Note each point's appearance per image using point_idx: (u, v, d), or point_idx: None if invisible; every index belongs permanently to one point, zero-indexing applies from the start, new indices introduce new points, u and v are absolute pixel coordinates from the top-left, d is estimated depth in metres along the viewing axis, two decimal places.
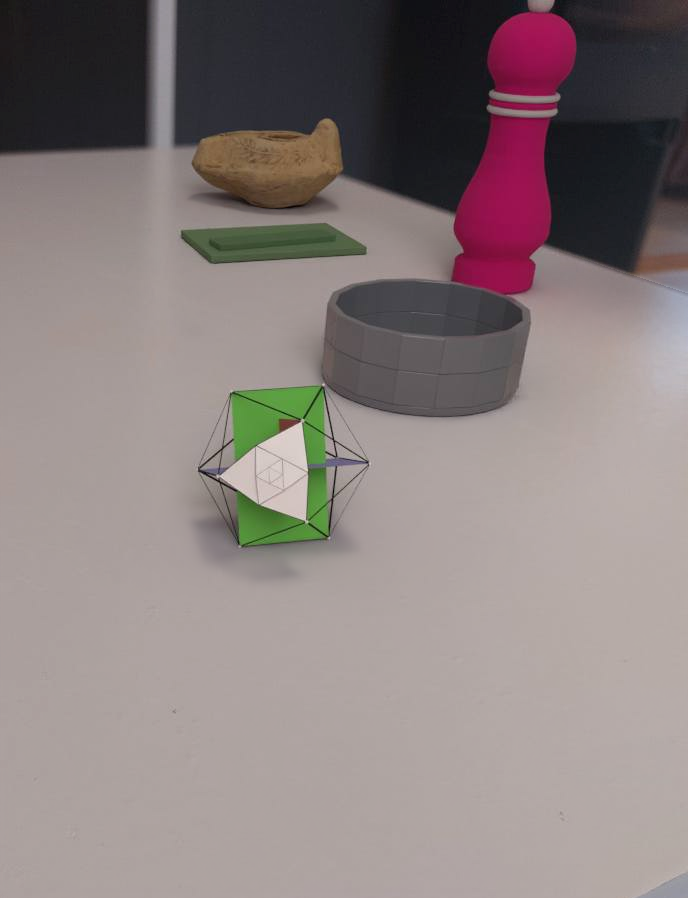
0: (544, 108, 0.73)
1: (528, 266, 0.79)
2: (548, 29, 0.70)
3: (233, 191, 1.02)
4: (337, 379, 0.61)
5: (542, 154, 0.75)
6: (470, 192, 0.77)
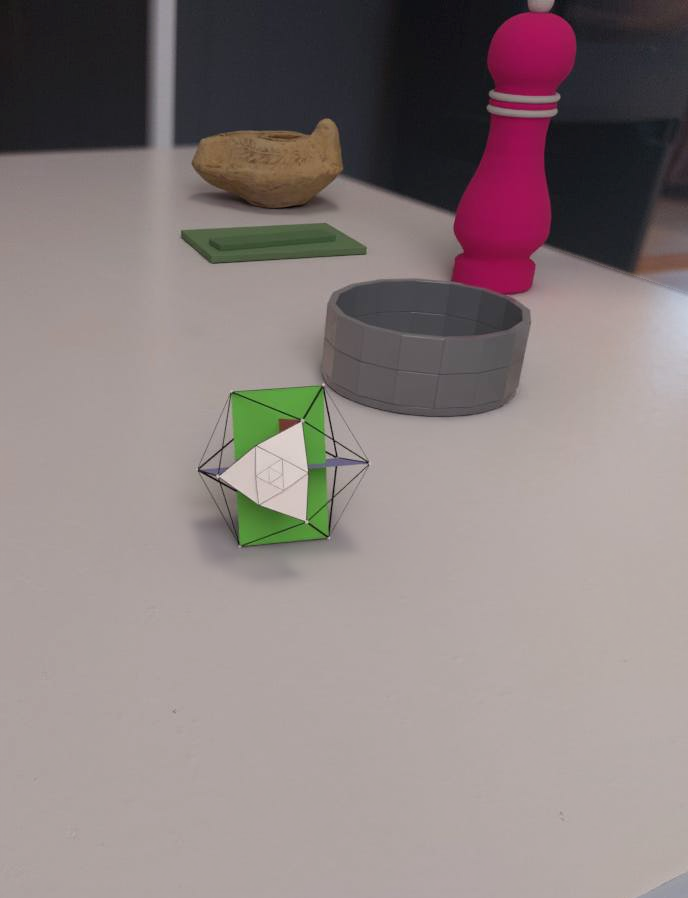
0: (544, 108, 0.73)
1: (528, 266, 0.79)
2: (548, 29, 0.70)
3: (233, 191, 1.02)
4: (337, 379, 0.61)
5: (542, 154, 0.75)
6: (470, 192, 0.77)
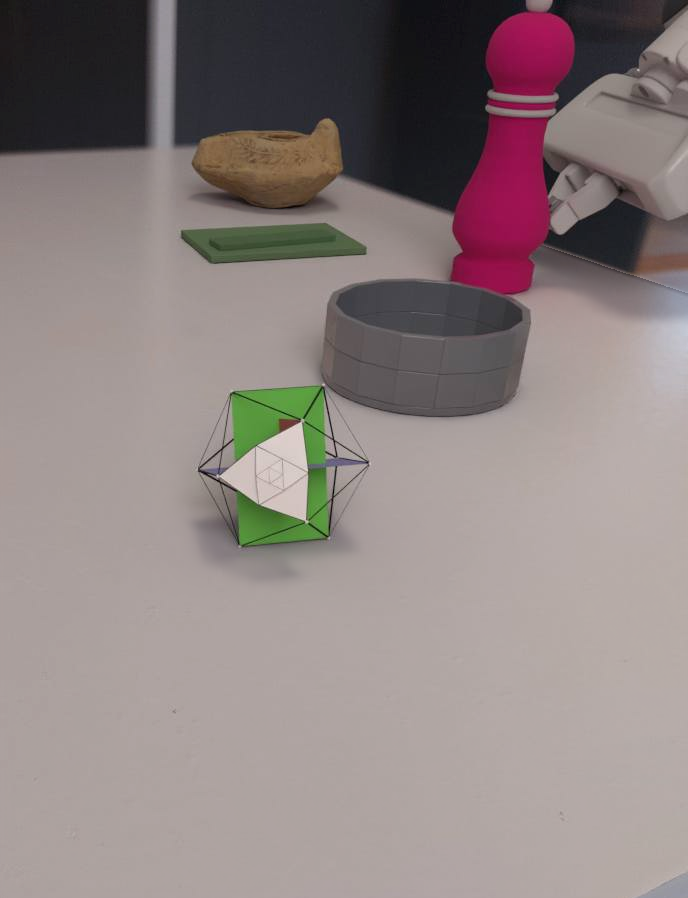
0: (543, 108, 0.73)
1: (527, 266, 0.79)
2: (547, 29, 0.70)
3: (233, 191, 1.02)
4: (337, 379, 0.61)
5: (541, 154, 0.75)
6: (468, 192, 0.77)
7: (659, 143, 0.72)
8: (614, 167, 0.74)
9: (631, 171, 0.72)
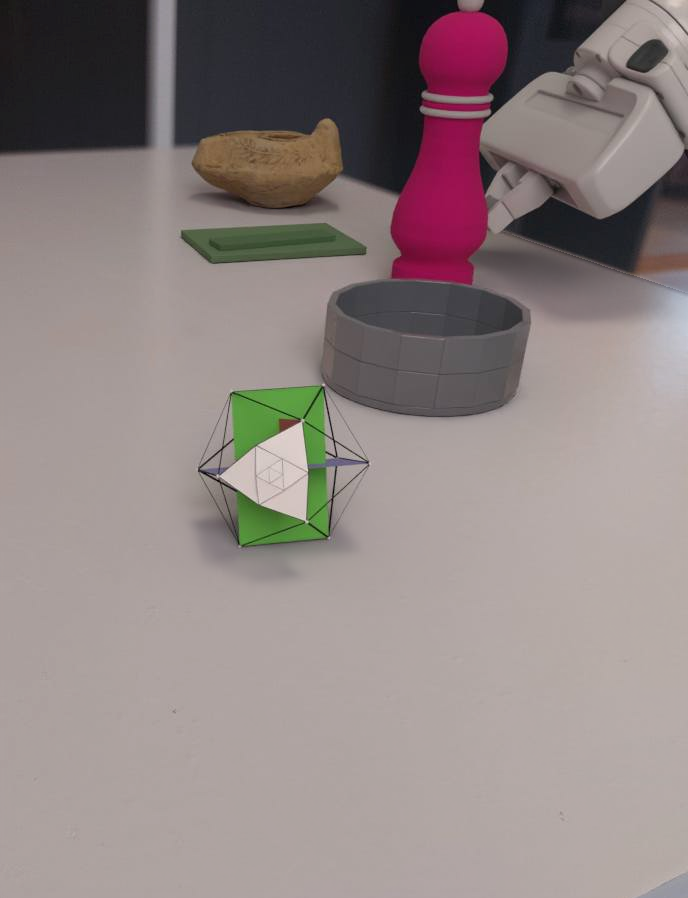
0: (479, 108, 0.72)
1: (467, 269, 0.78)
2: (481, 29, 0.69)
3: (233, 191, 1.02)
4: (337, 379, 0.61)
5: (477, 155, 0.74)
6: (407, 196, 0.76)
7: (590, 141, 0.71)
8: (547, 165, 0.73)
9: (562, 169, 0.71)
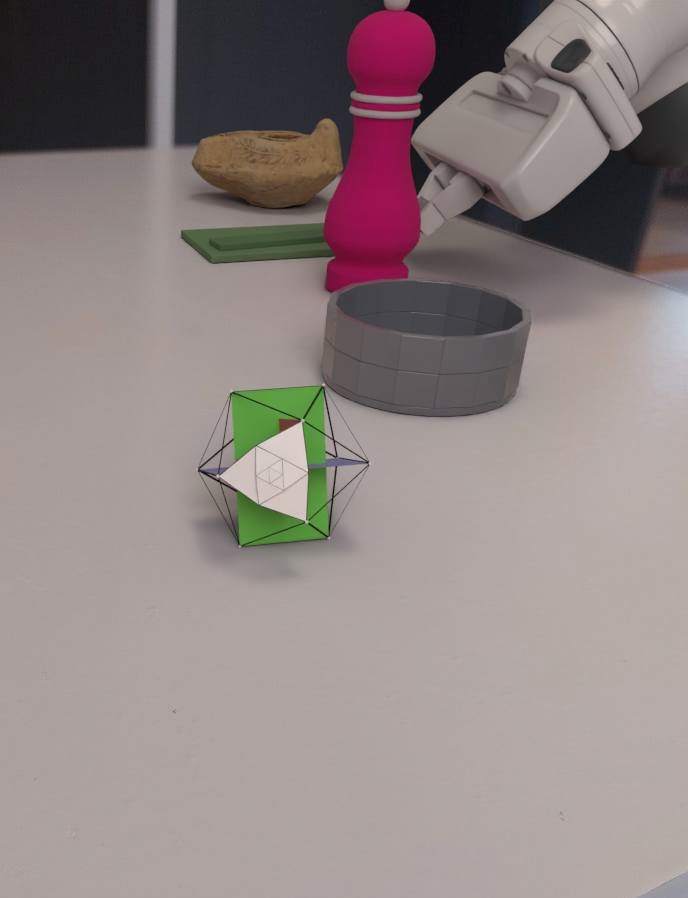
0: (410, 108, 0.71)
1: (402, 270, 0.77)
2: (409, 28, 0.68)
3: (233, 191, 1.02)
4: (337, 379, 0.61)
5: (408, 155, 0.74)
6: (339, 197, 0.75)
7: (515, 142, 0.70)
8: (474, 166, 0.72)
9: (488, 170, 0.70)
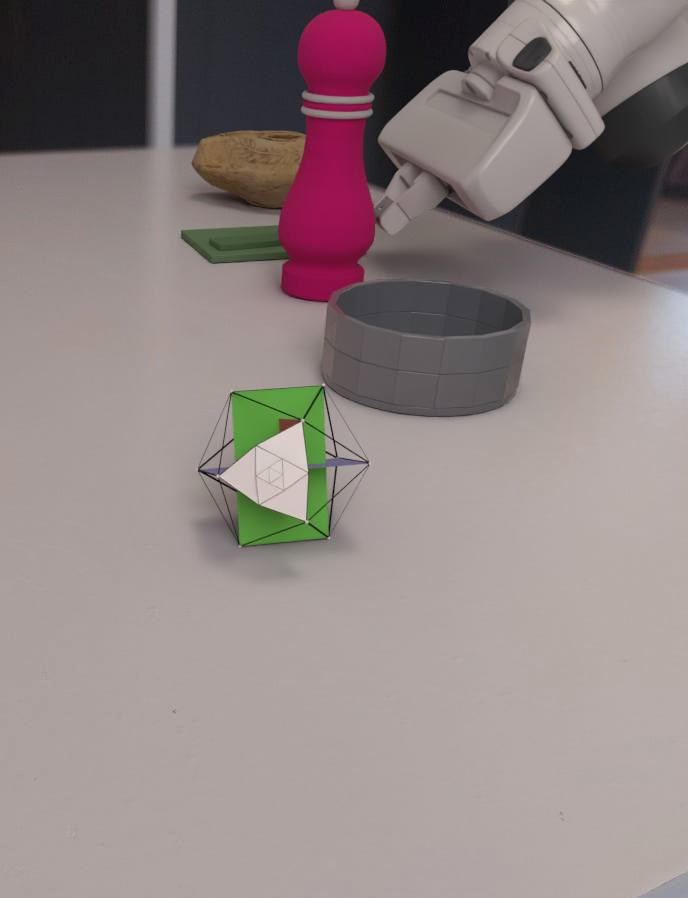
0: (361, 108, 0.70)
1: (357, 271, 0.77)
2: (358, 27, 0.67)
3: (233, 191, 1.02)
4: (337, 379, 0.61)
5: (361, 156, 0.73)
6: (292, 198, 0.74)
7: (477, 141, 0.69)
8: (437, 166, 0.72)
9: (450, 170, 0.70)
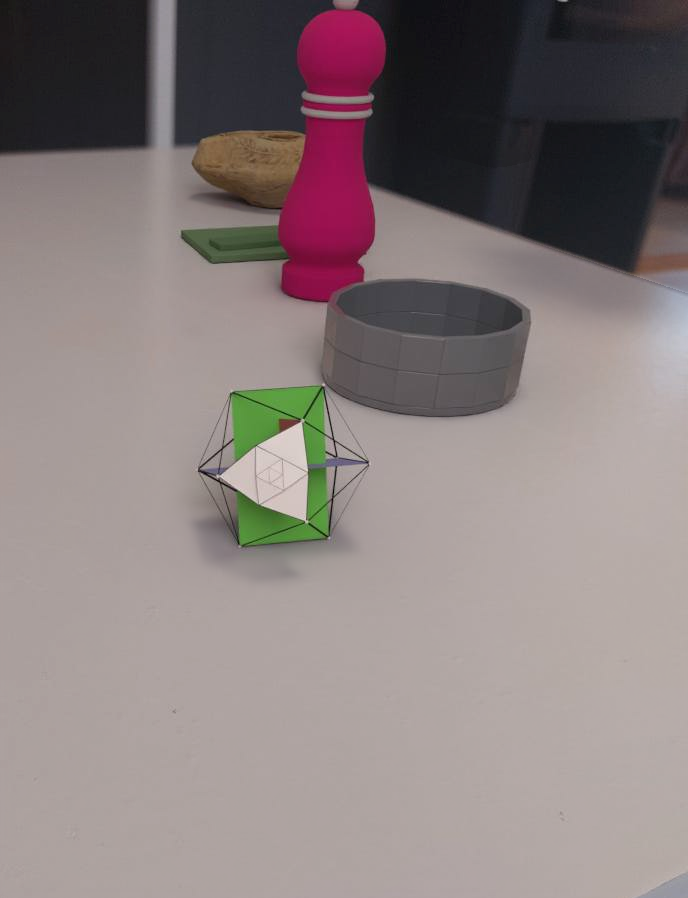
0: (360, 108, 0.70)
1: (357, 271, 0.77)
2: (358, 28, 0.67)
3: (233, 191, 1.02)
4: (337, 379, 0.61)
5: (361, 156, 0.73)
6: (292, 198, 0.74)
7: None
8: None
9: None
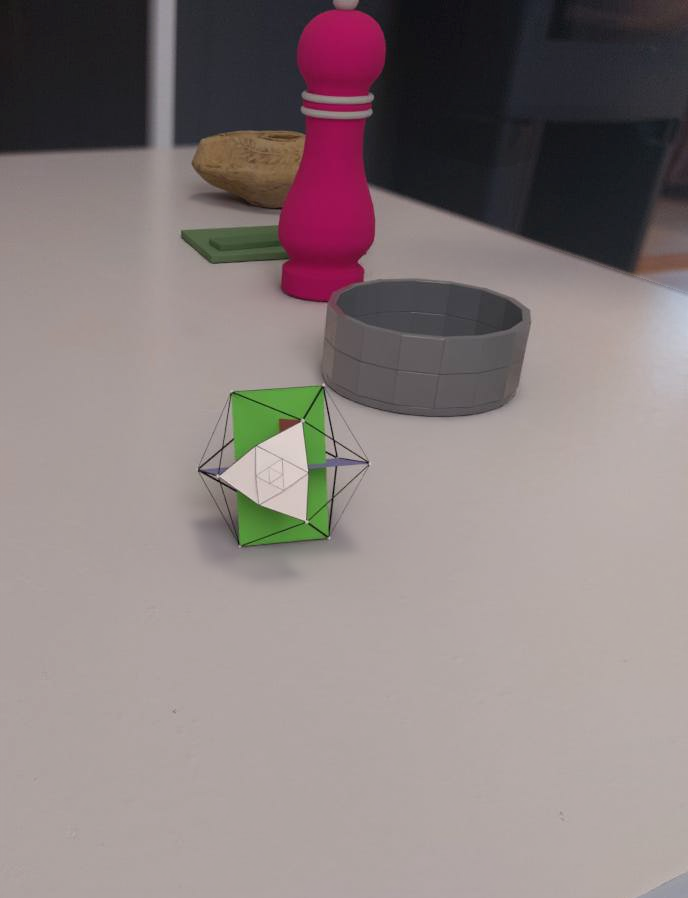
0: (360, 108, 0.70)
1: (357, 271, 0.77)
2: (358, 28, 0.67)
3: (233, 191, 1.02)
4: (337, 379, 0.61)
5: (361, 156, 0.73)
6: (292, 198, 0.74)
7: None
8: None
9: None
